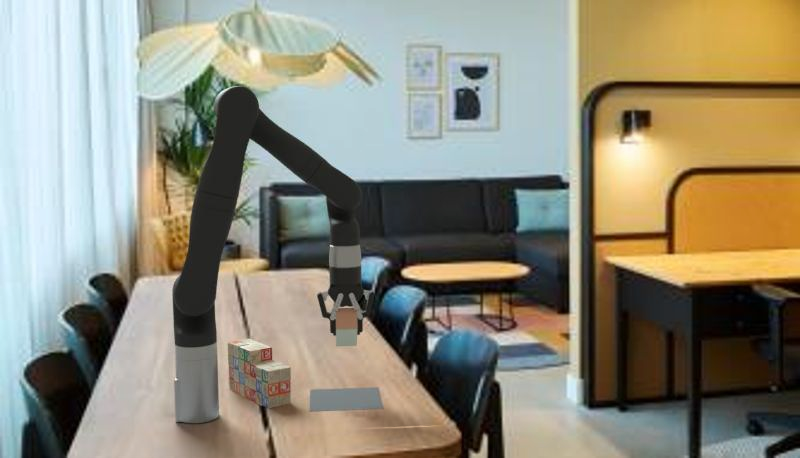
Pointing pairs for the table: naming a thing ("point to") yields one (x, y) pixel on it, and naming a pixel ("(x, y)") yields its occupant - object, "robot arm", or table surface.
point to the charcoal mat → (345, 399)
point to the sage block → (346, 327)
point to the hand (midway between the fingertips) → (346, 334)
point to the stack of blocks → (258, 374)
